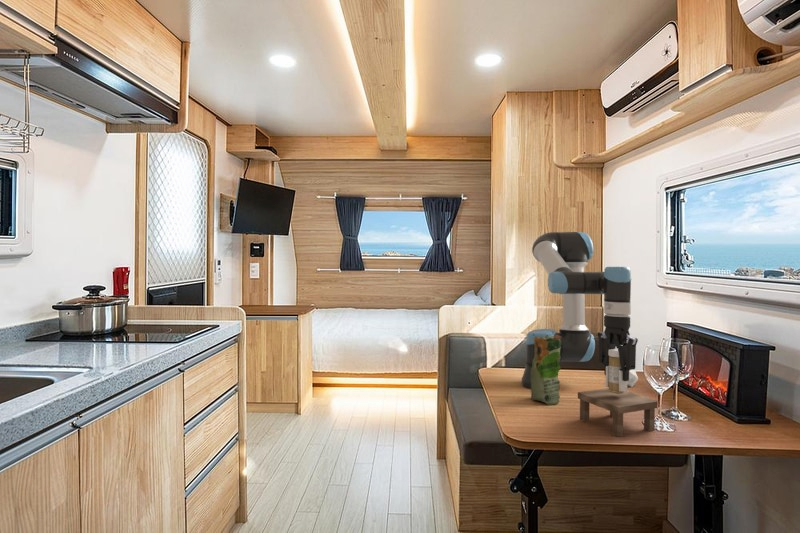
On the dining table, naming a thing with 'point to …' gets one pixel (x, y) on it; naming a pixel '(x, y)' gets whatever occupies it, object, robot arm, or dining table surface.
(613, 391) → the sprinkles bottle
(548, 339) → the pouch
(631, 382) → the die
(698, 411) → the dining table surface
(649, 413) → the walnut stool
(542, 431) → the dining table surface
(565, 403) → the dining table surface
